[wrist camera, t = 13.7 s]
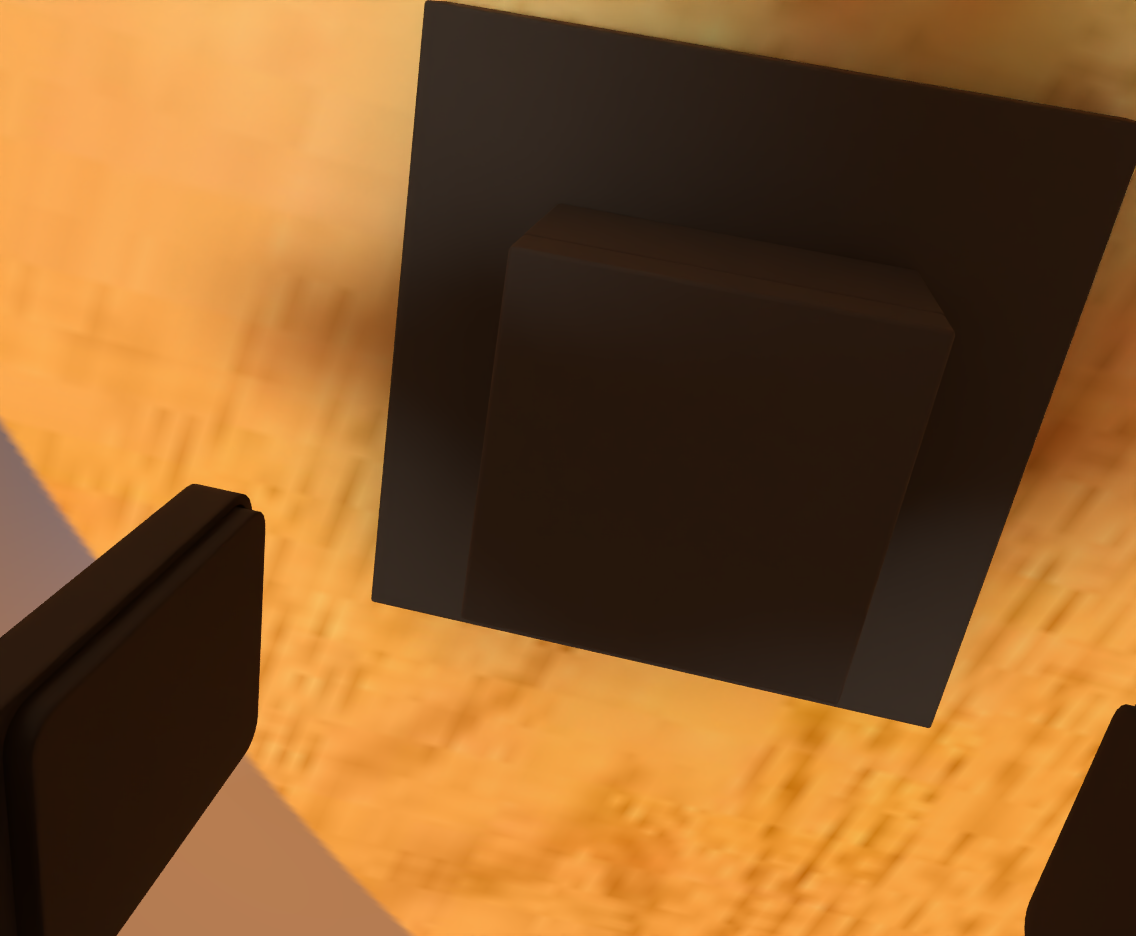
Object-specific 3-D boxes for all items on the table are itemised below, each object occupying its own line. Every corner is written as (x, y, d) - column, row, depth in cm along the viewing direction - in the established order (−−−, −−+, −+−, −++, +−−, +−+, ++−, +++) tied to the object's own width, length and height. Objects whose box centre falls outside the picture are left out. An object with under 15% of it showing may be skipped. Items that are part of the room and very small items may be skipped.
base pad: (1128, 118, 18) (1198, 137, 15) (922, 695, 23) (946, 794, 20) (444, 0, 19) (385, -3, 16) (388, 575, 24) (336, 652, 21)
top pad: (919, 270, 18) (957, 331, 15) (825, 587, 21) (839, 707, 17) (557, 202, 19) (508, 245, 15) (510, 518, 21) (459, 620, 18)
